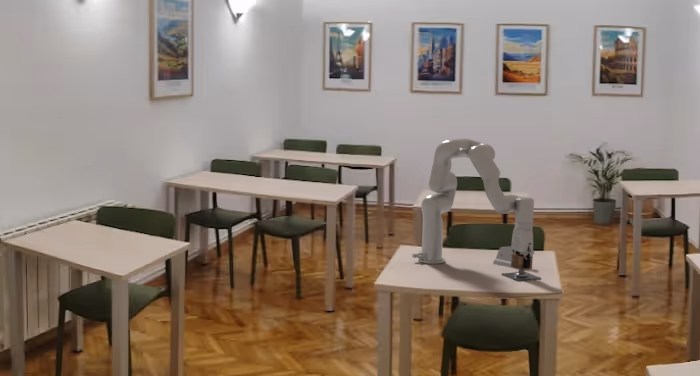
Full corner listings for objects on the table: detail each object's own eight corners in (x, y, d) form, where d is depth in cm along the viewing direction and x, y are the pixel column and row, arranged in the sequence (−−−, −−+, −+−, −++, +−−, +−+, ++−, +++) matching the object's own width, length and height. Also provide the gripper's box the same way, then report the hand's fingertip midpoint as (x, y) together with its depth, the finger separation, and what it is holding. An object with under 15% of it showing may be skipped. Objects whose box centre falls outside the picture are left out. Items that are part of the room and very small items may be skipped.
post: (517, 281, 339) (518, 262, 338) (501, 274, 350) (502, 257, 349) (540, 279, 344) (541, 261, 343) (524, 272, 355) (525, 255, 354)
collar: (519, 269, 343) (520, 257, 342) (511, 266, 348) (511, 254, 348) (531, 268, 345) (532, 256, 344) (523, 265, 351) (523, 253, 350)
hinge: (492, 263, 372) (497, 242, 373) (497, 265, 375) (503, 245, 376) (522, 270, 360) (527, 248, 361) (527, 272, 363) (533, 251, 364)
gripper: (505, 222, 351) (503, 262, 353) (528, 229, 335) (526, 271, 337) (519, 221, 354) (517, 261, 356) (543, 228, 338) (540, 270, 340)
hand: (521, 265), depth 347 cm, fingers closed on collar, 6 cm apart
